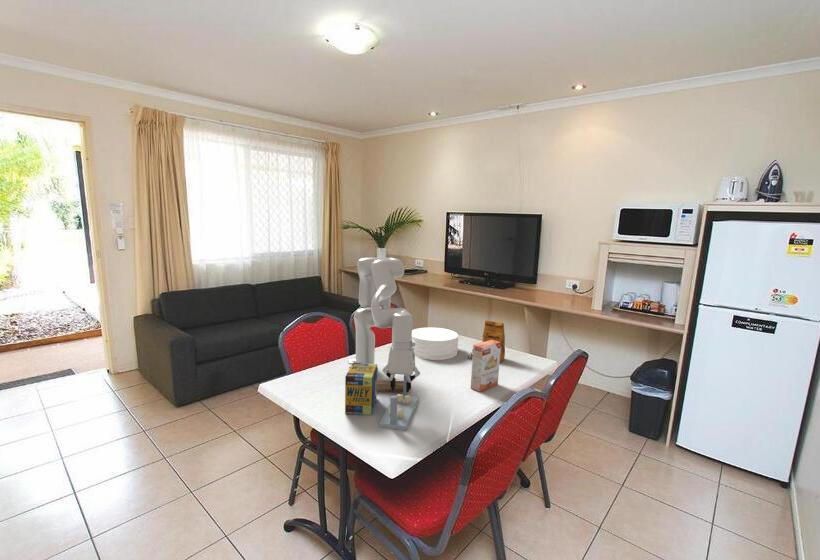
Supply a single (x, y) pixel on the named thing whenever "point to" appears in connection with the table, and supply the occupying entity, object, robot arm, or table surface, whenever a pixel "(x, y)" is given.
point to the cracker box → (485, 365)
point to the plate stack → (435, 343)
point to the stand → (399, 410)
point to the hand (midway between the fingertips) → (400, 389)
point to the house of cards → (470, 356)
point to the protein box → (360, 389)
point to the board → (385, 386)
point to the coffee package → (495, 335)
